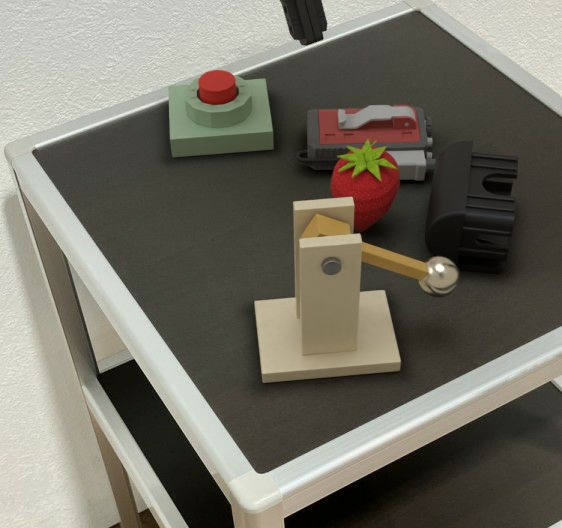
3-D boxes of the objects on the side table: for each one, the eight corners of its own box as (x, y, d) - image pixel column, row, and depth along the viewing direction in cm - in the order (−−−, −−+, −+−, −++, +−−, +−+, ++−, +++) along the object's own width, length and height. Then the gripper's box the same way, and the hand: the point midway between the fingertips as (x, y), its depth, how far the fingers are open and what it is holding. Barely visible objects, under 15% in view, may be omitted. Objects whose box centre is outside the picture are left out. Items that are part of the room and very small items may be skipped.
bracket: (384, 299, 82) (393, 179, 72) (400, 371, 77) (412, 253, 67) (254, 310, 82) (246, 191, 72) (262, 383, 76) (254, 266, 67)
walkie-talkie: (296, 187, 92) (508, 182, 91) (295, 149, 88) (515, 144, 88) (295, 130, 97) (495, 126, 97) (294, 92, 94) (501, 87, 93)
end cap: (431, 195, 90) (438, 135, 85) (508, 203, 89) (520, 143, 84) (420, 269, 84) (427, 209, 79) (502, 278, 83) (515, 219, 78)
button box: (266, 96, 101) (264, 62, 98) (273, 149, 95) (272, 115, 92) (170, 103, 101) (166, 70, 98) (172, 157, 95) (167, 123, 92)
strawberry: (403, 207, 89) (411, 116, 82) (385, 262, 85) (393, 171, 77) (341, 197, 91) (343, 106, 83) (320, 250, 86) (321, 159, 78)
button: (235, 83, 96) (234, 68, 95) (237, 104, 94) (236, 89, 93) (199, 86, 96) (197, 71, 95) (200, 107, 94) (198, 92, 93)
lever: (440, 281, 78) (463, 254, 75) (448, 310, 75) (472, 283, 73) (297, 235, 72) (318, 204, 70) (302, 264, 70) (323, 234, 68)
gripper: (171, -180, 66) (247, 71, 73) (347, -234, 68) (404, 17, 75) (156, -162, 73) (226, 66, 80) (316, -212, 75) (371, 16, 82)
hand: (312, 42), depth 78 cm, fingers closed
